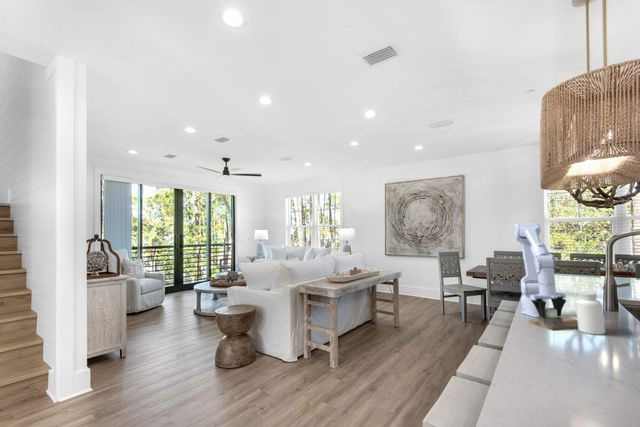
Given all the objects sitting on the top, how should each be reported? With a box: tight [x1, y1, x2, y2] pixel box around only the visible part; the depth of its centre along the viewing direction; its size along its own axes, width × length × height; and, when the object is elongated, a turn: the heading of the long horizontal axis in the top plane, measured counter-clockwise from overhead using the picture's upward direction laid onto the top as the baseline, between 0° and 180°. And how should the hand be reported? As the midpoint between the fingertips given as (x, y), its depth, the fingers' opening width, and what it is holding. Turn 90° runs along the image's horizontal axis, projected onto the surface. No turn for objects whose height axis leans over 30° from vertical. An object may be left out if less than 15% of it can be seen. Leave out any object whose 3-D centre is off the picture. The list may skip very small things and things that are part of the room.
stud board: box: [528, 316, 578, 331], centre depth 132 cm, size 12×18×4 cm, turn 96°
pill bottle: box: [575, 291, 606, 335], centre depth 122 cm, size 8×8×15 cm
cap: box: [545, 306, 559, 320], centre depth 130 cm, size 5×5×4 cm
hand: (550, 316), depth 130 cm, fingers open, 7 cm apart
